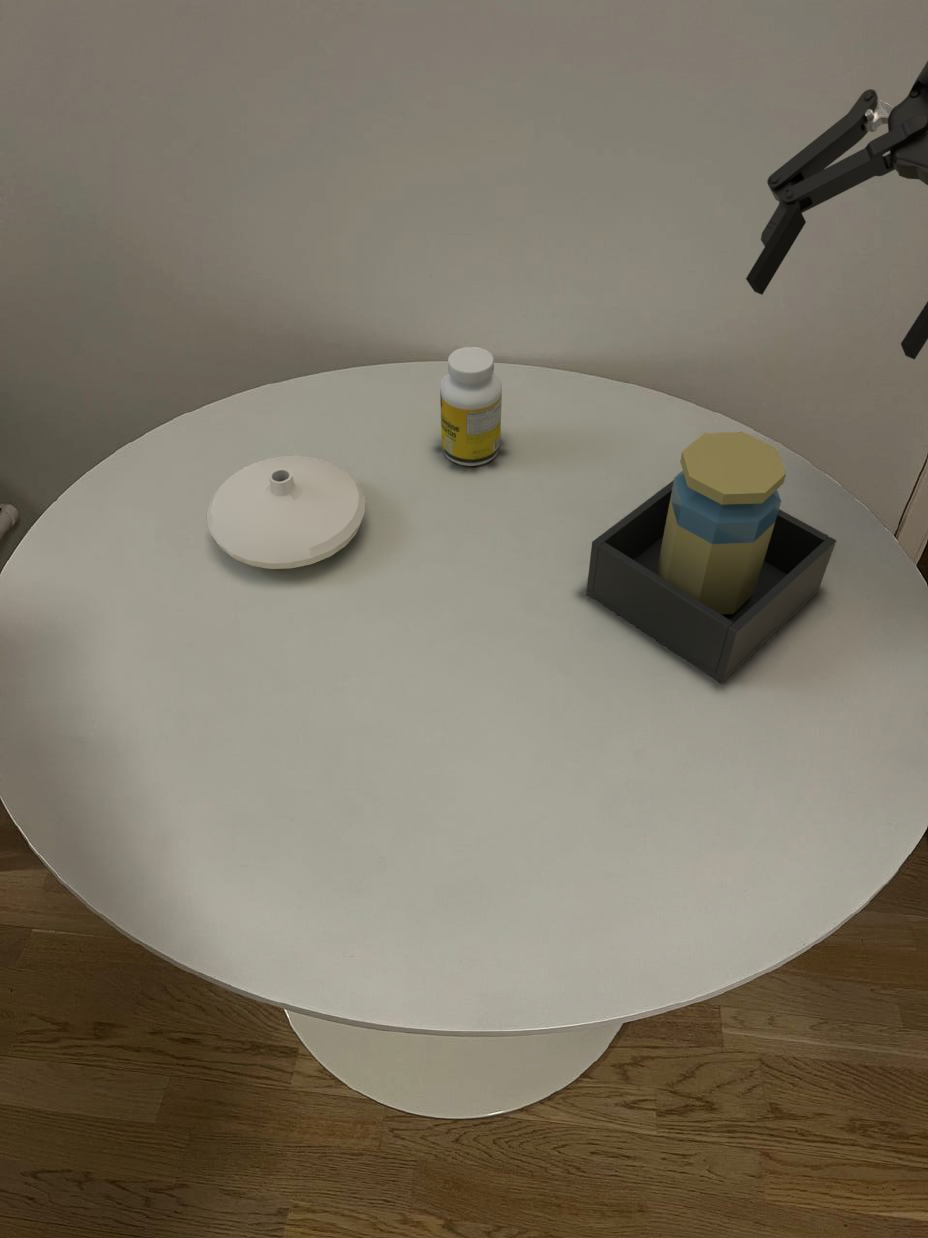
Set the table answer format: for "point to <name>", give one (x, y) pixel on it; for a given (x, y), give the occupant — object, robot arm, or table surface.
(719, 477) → the jar
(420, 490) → the table surface
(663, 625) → the bin
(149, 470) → the table surface
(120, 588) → the table surface
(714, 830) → the table surface
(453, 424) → the pill bottle
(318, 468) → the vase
